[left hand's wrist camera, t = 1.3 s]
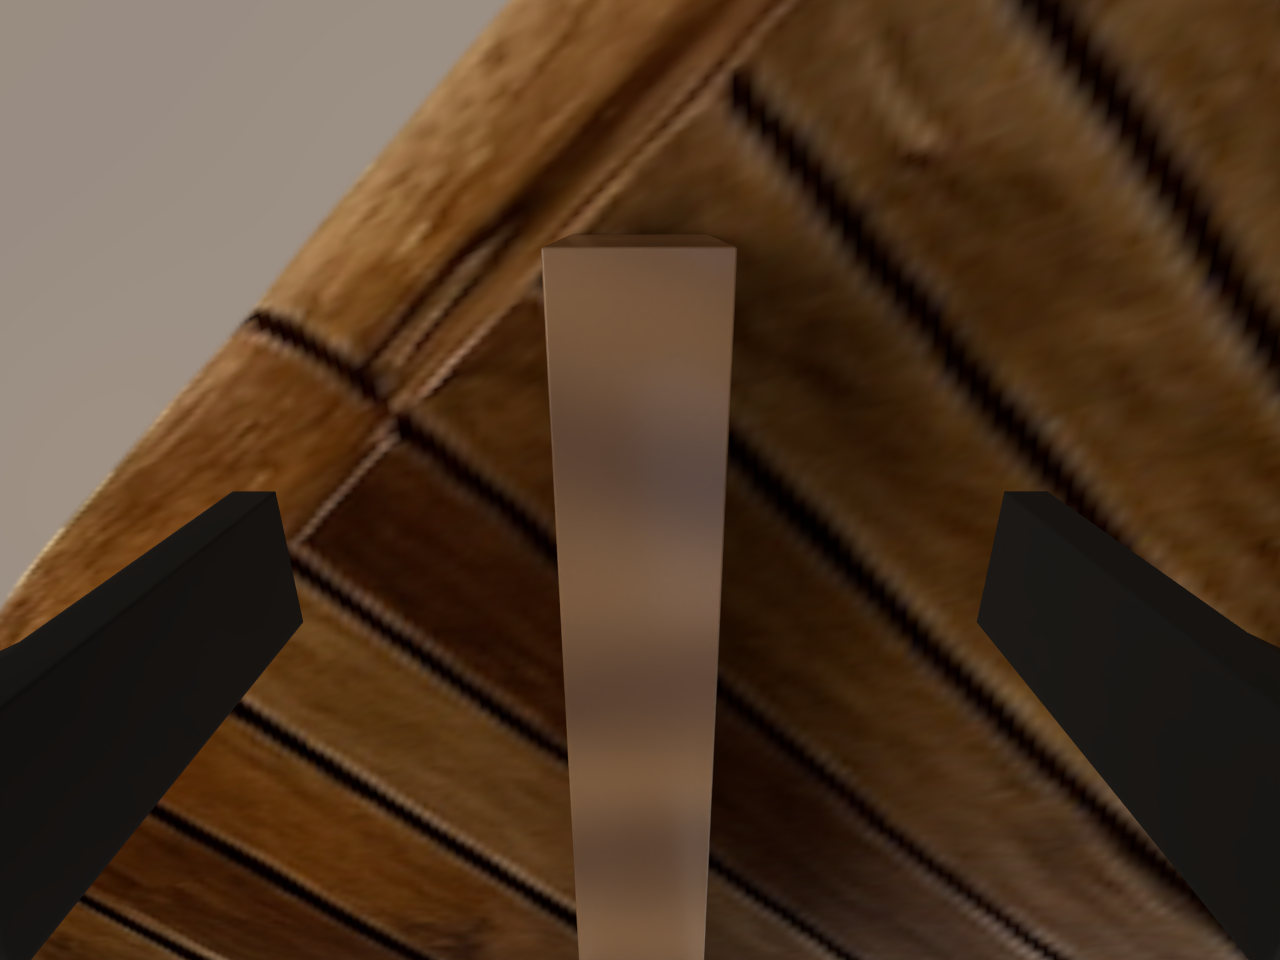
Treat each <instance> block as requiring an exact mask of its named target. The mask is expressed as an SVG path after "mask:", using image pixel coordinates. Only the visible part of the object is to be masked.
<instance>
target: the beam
mask: <svg viewBox="0 0 1280 960" xmlns="http://www.w3.org/2000/svg"><path fill="white" fill-rule="evenodd" d="M541 259H542V277H543V296H544V315H545V333H546V352H547V371H548V389H549V408H550V427H551V445H552V464H553V483H554V501H555V520H556V539H557V557H558V576H559V595H560V613H561V632H562V651H563V669H564V688H565V707H566V725H567V744H568V763H569V781H570V800H571V819H572V837H573V856H574V875H575V893H576V912H577V931H578V949H579V960H704V950H705V929H706V908H707V886H708V865H709V844H710V823H711V801H712V780H713V759H714V737H715V716H716V695H717V674H718V652H719V631H720V610H721V589H722V567H723V546H724V525H725V504H726V482H727V461H728V440H729V418H730V397H731V376H732V355H733V333H734V312H735V291H736V270H737V247H735V246H733V245H731V244H728V243H726V242H724V241H722V240H719V239H717V238H715V237H713V236H710V235H708V234H572V235H569V236H567V237H565V238H563V239H560V240H558V241H556V242H554V243H552V244H549V245H547V246H545V247H543V248H542V249H541Z"/></svg>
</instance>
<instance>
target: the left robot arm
mask: <svg viewBox="0 0 1280 960" xmlns="http://www.w3.org/2000/svg"><path fill="white" fill-rule="evenodd" d="M302 623H303V619H302V614H301V610H300V605H299V600H298V596H297V591H296V586H295V581H294V577H293V572H292V567H291V563H290V558H289V553H288V549H287V544H286V539H285V535H284V530H283V525H282V520H281V516H280V511H279V506H278V502H277V497H276V492H231V493H230V494H229V495H227V496H226V497H224V498H223V499H221V500H220V501H219V502H217V503H216V504H214V505H213V506H212V507H210V508H209V509H207V510H206V511H204V512H203V513H202V514H200V515H199V516H197V517H196V518H195V519H193V520H192V521H190V522H189V523H187V524H186V525H185V526H183V527H182V528H180V529H179V530H178V531H176V532H175V533H173V534H172V535H170V536H169V537H168V538H166V539H165V540H163V541H162V542H161V543H159V544H158V545H156V546H155V547H153V548H152V549H151V550H149V551H148V552H146V553H145V554H144V555H142V556H141V557H139V558H138V559H136V560H135V561H134V562H132V563H131V564H129V565H128V566H127V567H125V568H124V569H122V570H121V571H119V572H118V573H117V574H115V575H114V576H112V577H111V578H109V579H108V580H107V581H105V582H104V583H102V584H101V585H100V586H98V587H97V588H95V589H94V590H92V591H91V592H90V593H88V594H87V595H85V596H84V597H83V598H81V599H80V600H78V601H77V602H75V603H74V604H73V605H71V606H70V607H68V608H67V609H66V610H64V611H63V612H61V613H60V614H58V615H57V616H56V617H54V618H53V619H51V620H50V621H49V622H47V623H46V624H44V625H43V626H41V627H40V628H39V629H37V630H36V631H34V632H33V633H32V634H30V635H29V636H27V637H26V638H24V639H23V640H22V641H20V642H18V643H16V644H14V645H12V646H10V647H8V648H6V649H4V650H2V651H0V960H31V959H32V958H33V956H34V955H35V954H36V953H37V951H38V950H39V949H40V948H41V947H42V945H43V944H44V943H45V942H46V940H47V939H48V938H49V937H50V935H51V934H52V933H53V932H54V930H55V929H56V928H57V927H58V925H59V924H60V923H61V922H62V920H63V919H64V918H65V917H66V916H67V914H68V913H69V912H70V911H71V909H72V908H73V907H74V906H75V904H76V903H77V902H78V901H79V899H80V898H81V897H82V896H83V894H84V893H85V892H86V891H87V889H88V888H89V887H90V886H91V885H92V883H93V882H94V881H95V880H96V878H97V877H98V876H99V875H100V873H101V872H102V871H103V870H104V868H105V867H106V866H107V865H108V863H109V862H110V861H111V860H112V858H113V857H114V856H115V855H116V854H117V852H118V851H119V850H120V849H121V847H122V846H123V845H124V844H125V842H126V841H127V840H128V839H129V837H130V836H131V835H132V834H133V832H134V831H135V830H136V829H137V827H138V826H139V825H140V824H141V823H142V821H143V820H144V819H145V818H146V816H147V815H148V814H149V813H150V811H151V810H152V809H153V808H154V806H155V805H156V804H157V803H158V801H159V800H160V799H161V798H162V796H163V795H164V794H165V793H166V792H167V790H168V789H169V788H170V787H171V785H172V784H173V783H174V782H175V780H176V779H177V778H178V777H179V775H180V774H181V773H182V772H183V770H184V769H185V768H186V767H187V765H188V764H189V763H190V762H191V761H192V759H193V758H194V757H195V756H196V754H197V753H198V752H199V751H200V749H201V748H202V747H203V746H204V744H205V743H206V742H207V741H208V739H209V738H210V737H211V736H212V734H213V733H214V732H215V731H216V730H217V728H218V727H219V726H220V725H221V723H222V722H223V721H224V720H225V718H226V717H227V716H228V715H229V713H230V712H231V711H232V710H233V708H234V707H235V706H236V705H237V703H238V702H239V701H240V700H241V699H242V697H243V696H244V695H245V694H246V692H247V691H248V690H249V689H250V687H251V686H252V685H253V684H254V682H255V681H256V680H257V679H258V677H259V676H260V675H261V674H262V672H263V671H264V670H265V669H266V668H267V666H268V665H269V664H270V663H271V661H272V660H273V659H274V658H275V656H276V655H277V654H278V653H279V651H280V650H281V649H282V648H283V646H284V645H285V644H286V643H287V641H288V640H289V639H290V638H291V636H292V635H293V634H294V633H295V632H296V630H297V629H298V628H299V627H300V625H301V624H302ZM977 623H978V624H979V625H980V627H981V628H982V629H983V630H984V632H985V633H986V634H987V635H988V636H989V638H990V639H991V640H992V641H993V643H994V644H995V645H996V646H997V648H998V649H999V650H1000V651H1001V653H1002V654H1003V655H1004V656H1005V658H1006V659H1007V660H1008V661H1009V663H1010V664H1011V665H1012V666H1013V668H1014V669H1015V670H1016V671H1017V672H1018V674H1019V675H1020V676H1021V677H1022V679H1023V680H1024V681H1025V682H1026V684H1027V685H1028V686H1029V687H1030V689H1031V690H1032V691H1033V692H1034V694H1035V695H1036V696H1037V697H1038V699H1039V700H1040V701H1041V702H1042V703H1043V705H1044V706H1045V707H1046V708H1047V710H1048V711H1049V712H1050V713H1051V715H1052V716H1053V717H1054V718H1055V720H1056V721H1057V722H1058V723H1059V725H1060V726H1061V727H1062V728H1063V730H1064V731H1065V732H1066V733H1067V734H1068V736H1069V737H1070V738H1071V739H1072V741H1073V742H1074V743H1075V744H1076V746H1077V747H1078V748H1079V749H1080V751H1081V752H1082V753H1083V754H1084V756H1085V757H1086V758H1087V759H1088V761H1089V762H1090V763H1091V764H1092V765H1093V767H1094V768H1095V769H1096V770H1097V772H1098V773H1099V774H1100V775H1101V777H1102V778H1103V779H1104V780H1105V782H1106V783H1107V784H1108V785H1109V787H1110V788H1111V789H1112V790H1113V792H1114V793H1115V794H1116V795H1117V796H1118V798H1119V799H1120V800H1121V801H1122V803H1123V804H1124V805H1125V806H1126V808H1127V809H1128V810H1129V811H1130V813H1131V814H1132V815H1133V816H1134V818H1135V819H1136V820H1137V821H1138V823H1139V824H1140V825H1141V826H1142V827H1143V829H1144V830H1145V831H1146V832H1147V834H1148V835H1149V836H1150V837H1151V839H1152V840H1153V841H1154V842H1155V844H1156V845H1157V846H1158V847H1159V849H1160V850H1161V851H1162V852H1163V854H1164V855H1165V856H1166V857H1167V858H1168V860H1169V861H1170V862H1171V863H1172V865H1173V866H1174V867H1175V868H1176V870H1177V871H1178V872H1179V873H1180V875H1181V876H1182V877H1183V878H1184V880H1185V881H1186V882H1187V883H1188V885H1189V886H1190V887H1191V888H1192V889H1193V891H1194V892H1195V893H1196V894H1197V896H1198V897H1199V898H1200V899H1201V901H1202V902H1203V903H1204V904H1205V906H1206V907H1207V908H1208V909H1209V911H1210V912H1211V913H1212V914H1213V916H1214V917H1215V918H1216V919H1217V920H1218V922H1219V923H1220V924H1221V925H1222V927H1223V928H1224V929H1225V930H1226V932H1227V933H1228V934H1229V935H1230V937H1231V938H1232V939H1233V940H1234V942H1235V943H1236V944H1237V945H1238V947H1239V948H1240V949H1241V950H1242V951H1243V953H1244V954H1245V955H1246V956H1247V958H1248V959H1249V960H1280V648H1279V647H1277V646H1274V645H1272V644H1270V643H1268V642H1266V641H1264V640H1262V639H1260V638H1258V637H1255V636H1253V635H1251V634H1249V633H1247V632H1246V631H1244V630H1243V629H1241V628H1240V627H1239V626H1237V625H1236V624H1234V623H1233V622H1231V621H1230V620H1229V619H1227V618H1226V617H1224V616H1223V615H1222V614H1220V613H1219V612H1217V611H1216V610H1214V609H1213V608H1212V607H1210V606H1209V605H1207V604H1206V603H1205V602H1203V601H1202V600H1200V599H1199V598H1197V597H1196V596H1195V595H1193V594H1192V593H1190V592H1189V591H1188V590H1186V589H1185V588H1183V587H1182V586H1180V585H1179V584H1178V583H1176V582H1175V581H1173V580H1172V579H1171V578H1169V577H1168V576H1166V575H1165V574H1163V573H1162V572H1161V571H1159V570H1158V569H1156V568H1155V567H1153V566H1152V565H1151V564H1149V563H1148V562H1146V561H1145V560H1144V559H1142V558H1141V557H1139V556H1138V555H1136V554H1135V553H1134V552H1132V551H1131V550H1129V549H1128V548H1127V547H1125V546H1124V545H1122V544H1121V543H1119V542H1118V541H1117V540H1115V539H1114V538H1112V537H1111V536H1110V535H1108V534H1107V533H1105V532H1104V531H1102V530H1101V529H1100V528H1098V527H1097V526H1095V525H1094V524H1093V523H1091V522H1090V521H1088V520H1087V519H1085V518H1084V517H1083V516H1081V515H1080V514H1078V513H1077V512H1076V511H1074V510H1073V509H1071V508H1070V507H1068V506H1067V505H1066V504H1064V503H1063V502H1061V501H1060V500H1059V499H1057V498H1056V497H1054V496H1053V495H1051V494H1050V493H1049V492H1004V497H1003V502H1002V506H1001V511H1000V516H999V520H998V525H997V530H996V535H995V539H994V544H993V549H992V553H991V558H990V563H989V567H988V572H987V577H986V581H985V586H984V591H983V596H982V600H981V605H980V610H979V614H978V619H977Z"/></svg>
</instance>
